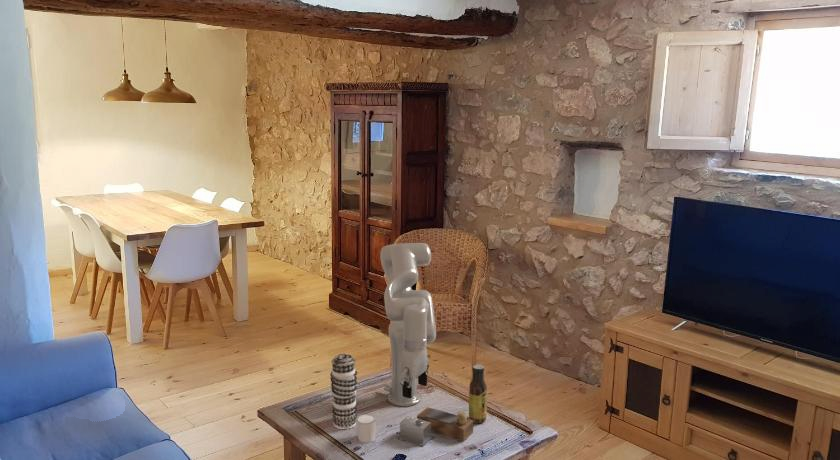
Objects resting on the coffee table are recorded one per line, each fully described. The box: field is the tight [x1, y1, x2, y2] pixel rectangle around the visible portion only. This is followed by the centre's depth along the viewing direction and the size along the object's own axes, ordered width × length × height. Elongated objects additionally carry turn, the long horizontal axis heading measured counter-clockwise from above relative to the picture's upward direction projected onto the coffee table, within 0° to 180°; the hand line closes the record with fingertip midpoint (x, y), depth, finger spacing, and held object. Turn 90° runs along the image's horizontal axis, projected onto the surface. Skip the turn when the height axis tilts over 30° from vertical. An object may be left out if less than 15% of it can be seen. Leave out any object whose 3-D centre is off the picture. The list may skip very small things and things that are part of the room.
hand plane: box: [416, 406, 474, 442], centre depth 215 cm, size 18×7×8 cm, turn 59°
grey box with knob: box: [399, 415, 432, 443], centre depth 210 cm, size 9×5×6 cm, turn 59°
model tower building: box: [329, 353, 358, 430], centre depth 218 cm, size 9×9×25 cm
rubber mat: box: [396, 434, 435, 448], centre depth 211 cm, size 10×7×1 cm
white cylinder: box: [355, 413, 377, 443], centre depth 210 cm, size 7×7×7 cm
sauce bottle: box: [468, 364, 488, 424], centre depth 221 cm, size 7×6×20 cm
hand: (415, 390), depth 208 cm, fingers open, 9 cm apart
